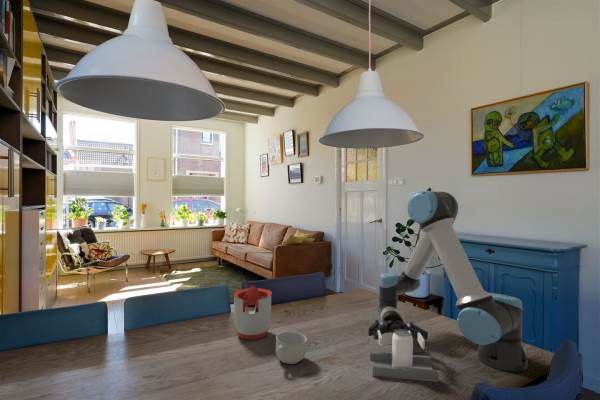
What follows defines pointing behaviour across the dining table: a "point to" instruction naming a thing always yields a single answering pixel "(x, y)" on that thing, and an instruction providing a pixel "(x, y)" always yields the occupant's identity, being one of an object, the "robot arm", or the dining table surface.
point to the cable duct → (419, 370)
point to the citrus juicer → (252, 312)
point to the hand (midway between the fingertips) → (402, 343)
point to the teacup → (290, 347)
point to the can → (402, 348)
